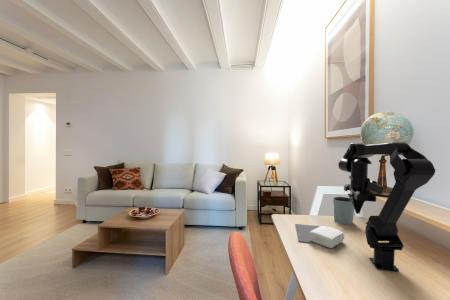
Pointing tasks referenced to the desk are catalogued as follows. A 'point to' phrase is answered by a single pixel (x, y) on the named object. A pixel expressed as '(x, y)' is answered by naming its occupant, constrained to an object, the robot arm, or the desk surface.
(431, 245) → the desk surface
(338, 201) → the grey-blue cup
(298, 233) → the mat
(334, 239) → the photo printer
